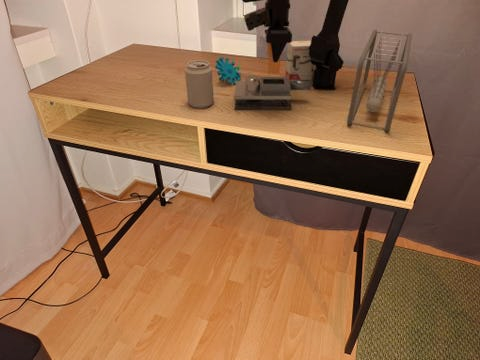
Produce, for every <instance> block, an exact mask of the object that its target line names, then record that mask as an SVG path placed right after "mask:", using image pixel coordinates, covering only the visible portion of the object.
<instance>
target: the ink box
mask: <svg viewBox="0 0 480 360" xmlns="http://www.w3.org/2000/svg"><path fill="white" fill-rule="evenodd" d="M310 44H311V40H297V41H296V40H295V41H294V40H292V42H291V43H287V52H286V61H285V63H286V64H285V76H284V77H288V78H289V80H311V82H312V75H313V70H315V65H314V64H311V58H310V56H309V49H308V48H309V47H310Z"/></svg>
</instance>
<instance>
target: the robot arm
mask: <svg viewBox="0 0 480 360" xmlns="http://www.w3.org/2000/svg"><path fill="white" fill-rule="evenodd" d="M241 1H242V2H243V3H245V4H246V3H253V2H260V1H262V0H241ZM348 3H349V0H329V3H328V7H327V10H326V13H325V16H324V21H323V24H322V27H321V30H320V31H319V32H318V34H317V35H312V37H311V40H310V41H311V44H310V47H309V48H308V49H309V56H310V58H311V64H314V65H315V70H313V75H312V81H311V85H312V86H313V87H314V90H336V86H335V85H336V75H337V72H339V71H340V70H342V68H343V65H344V60H343V58H342V57H341V56H340V54H339V53H340V47H341V44H340V38H339V33H340V29H341V27H342V22H343V20H344V16H345V13H346V10H347V7H348ZM290 9H291V1H290V0H265V3H264V7H262V8H258V9H256V10H254V11H251V12H248V13H246V14H245V15H244V16H243V20H244V22H245V25H246V28H247V31H249V32H250V31H253V30H254V29H256V28H259V27H262V26H263V27H264V28H267V29H265V30H264V34H265V42H266V44H267V43H270V44H271V48H272V56H273V62H278V60H279V58H280V59H281V57H282V56H281V54H282V55H283V51H284V49H285V47H286V46H287V45H288V43H291V42H292V41H293V33H292V31H291V29H290V28H289V26H290V20H289V16H290V15H289V13H290Z"/></svg>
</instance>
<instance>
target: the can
mask: <svg viewBox="0 0 480 360" xmlns="http://www.w3.org/2000/svg"><path fill="white" fill-rule="evenodd" d="M184 75H185V84H186V95H187V96H186V97H187V102H188V104H189V105H190V106H191V107H192V108H195V109H205V108H208V107H210V106H211V105H212V104H213V103H214V98H215V97H214V83H213V82H214V81H213V80H214V79H213V77H214V76H213V68H212V66H211V65H210V62H209V61H208V60H204V59H195V60H191V61H188V62H187V63H186V67H185V68H184Z"/></svg>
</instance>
